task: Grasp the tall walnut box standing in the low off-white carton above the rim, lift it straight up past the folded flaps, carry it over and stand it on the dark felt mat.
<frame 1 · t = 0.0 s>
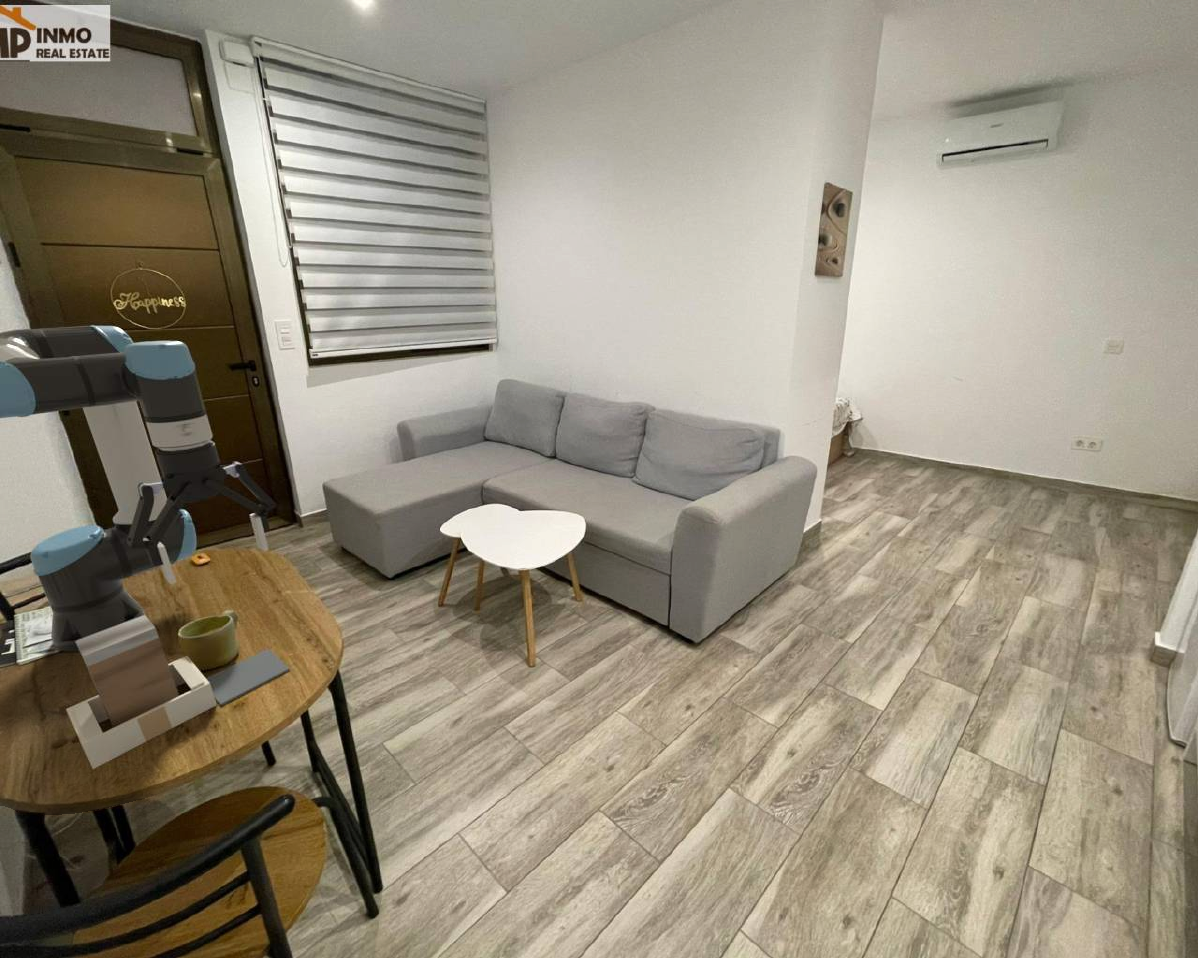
hand: (219, 564, 89), 28 cm above the table, fingers open, 13 cm apart
walnut box: (133, 677, 90), in the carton
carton: (148, 717, 93), on the table
mug: (221, 654, 110), on the table
mat: (246, 675, 103), on the table
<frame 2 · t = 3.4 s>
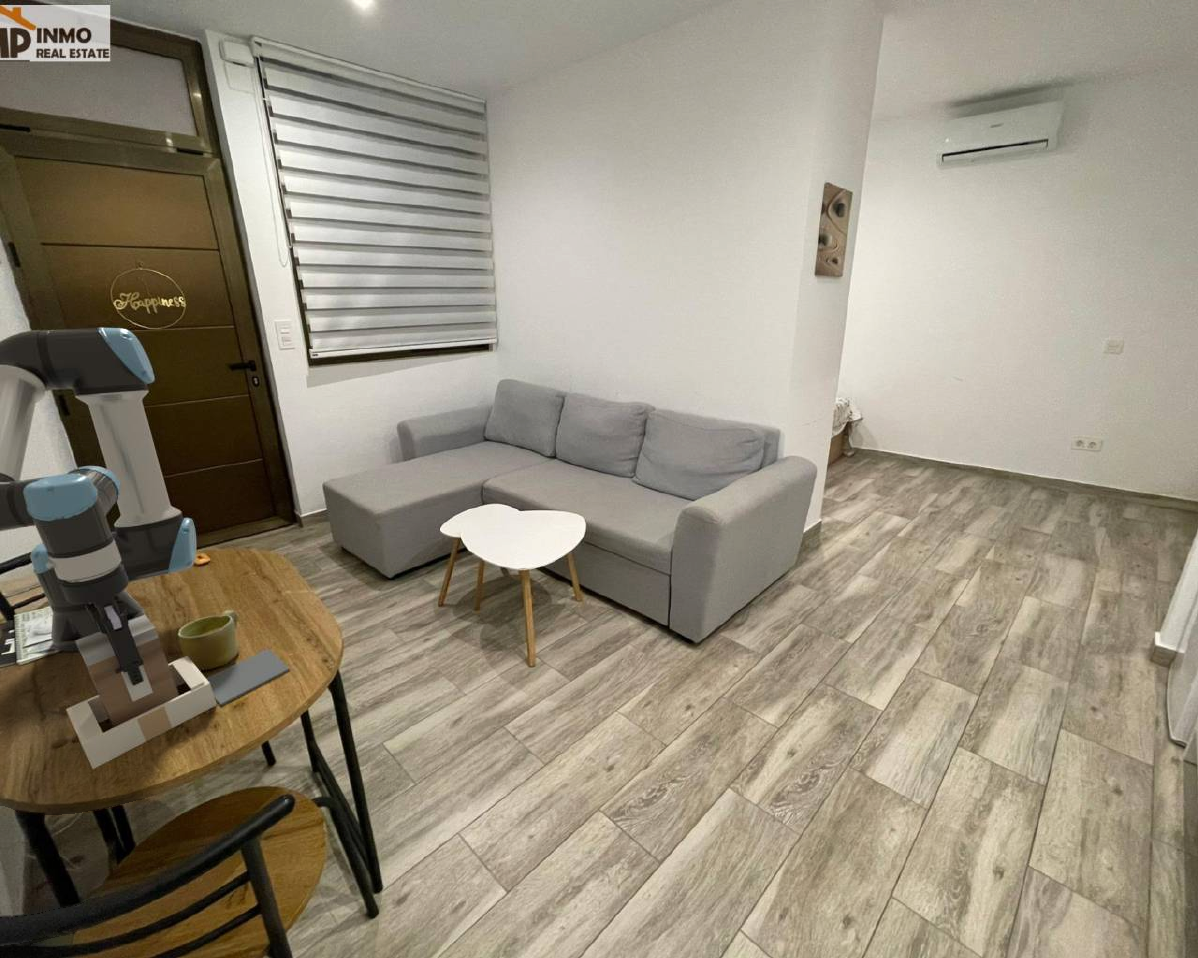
hand: (136, 686, 91), 7 cm above the table, fingers closed on walnut box, 6 cm apart
walnut box: (133, 677, 90), in the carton, touching gripper
everything else where it was.
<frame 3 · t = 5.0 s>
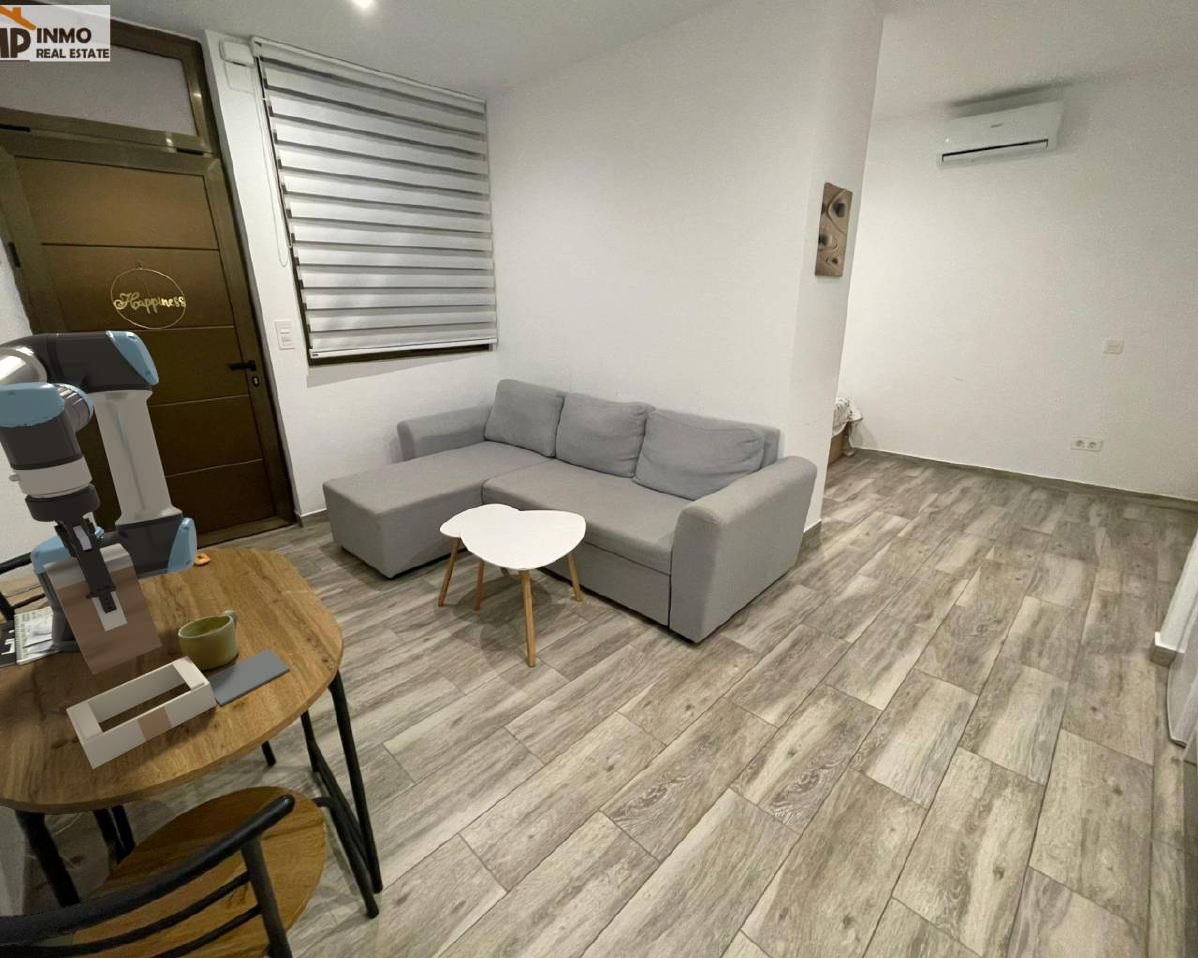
hand: (110, 618, 86), 21 cm above the table, fingers closed on walnut box, 6 cm apart
walnut box: (106, 607, 86), point 23 cm above the table, touching gripper
everything else where it was.
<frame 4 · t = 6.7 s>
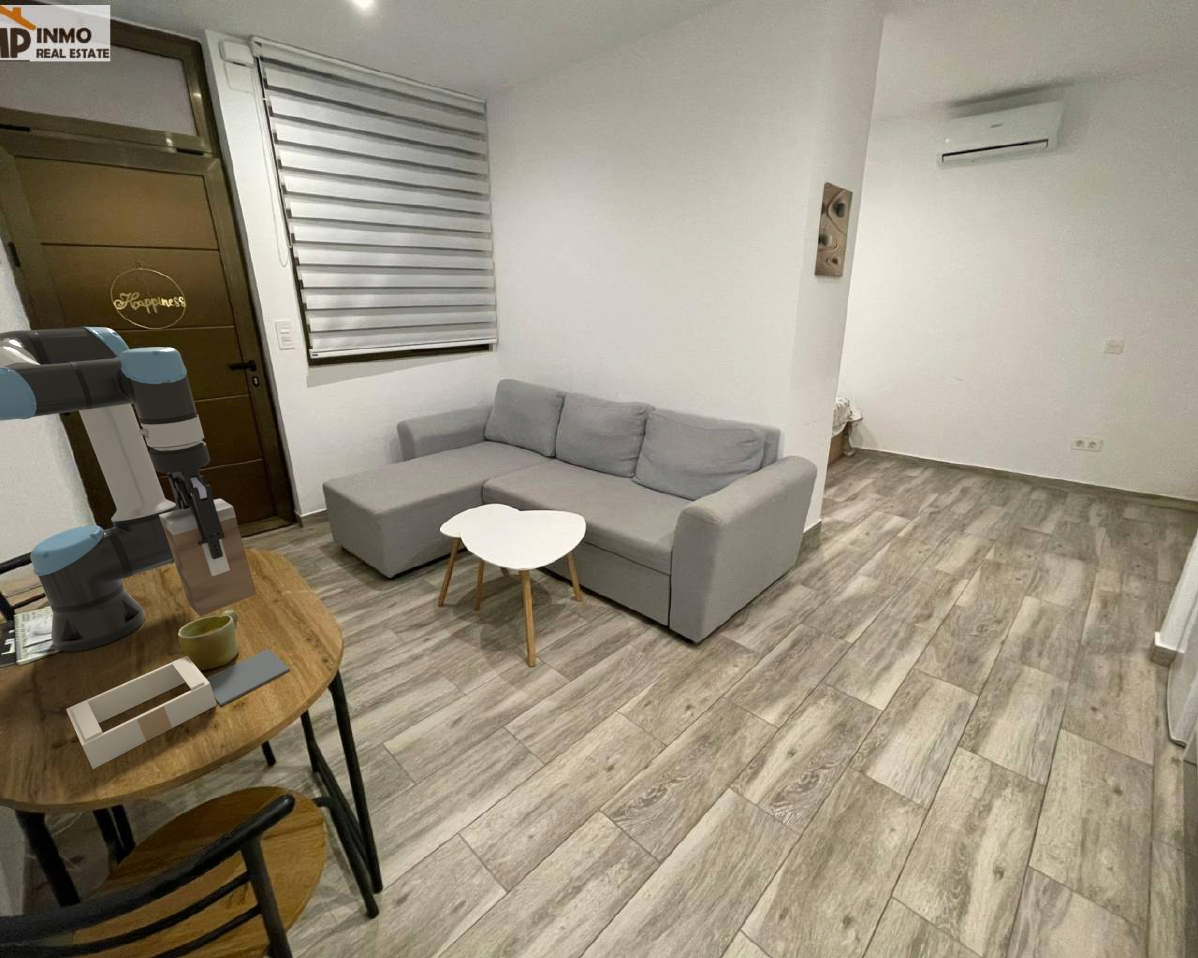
hand: (213, 566, 95), 25 cm above the table, fingers closed on walnut box, 6 cm apart
walnut box: (210, 556, 94), point 27 cm above the table, touching gripper
everything else where it was.
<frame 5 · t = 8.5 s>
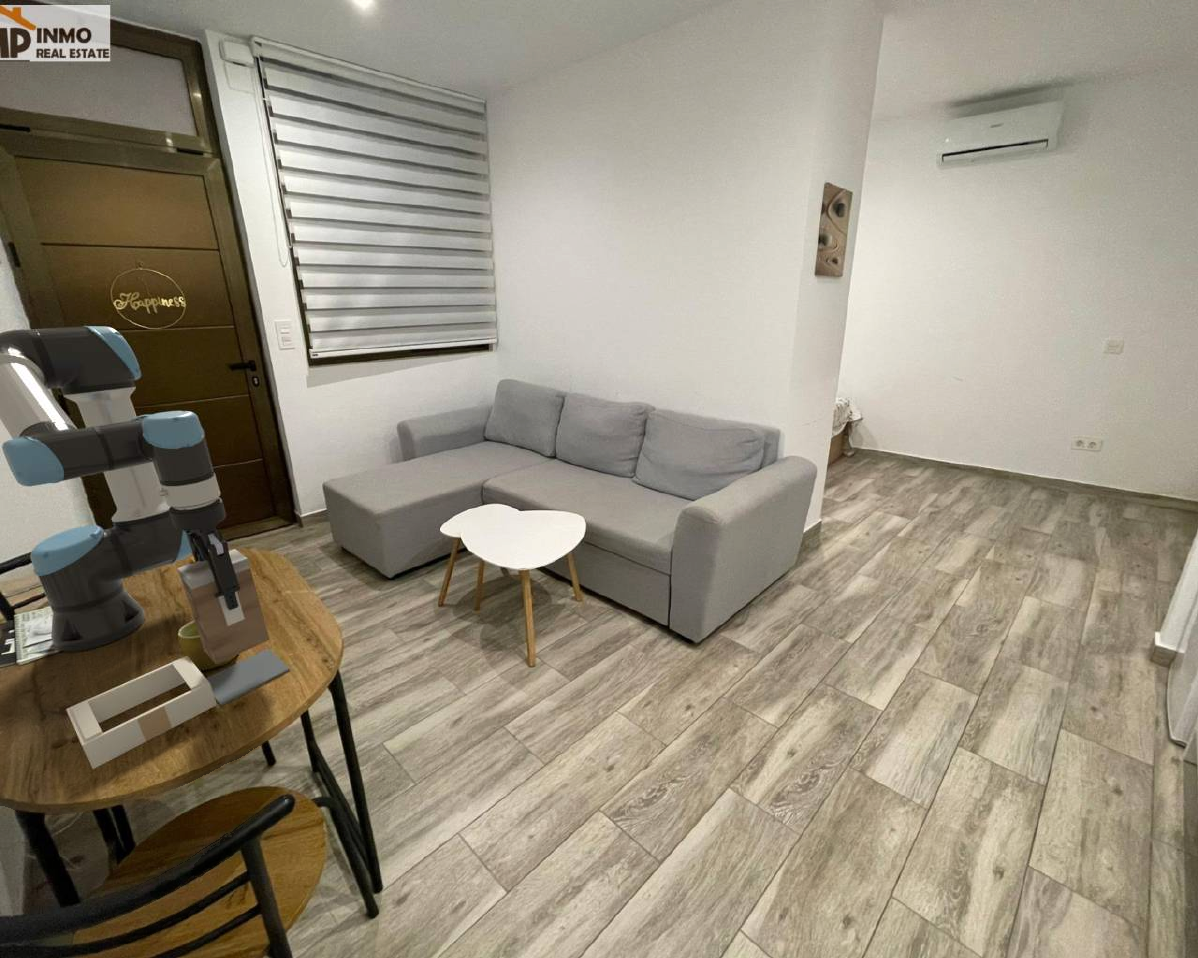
hand: (228, 615, 98), 14 cm above the table, fingers closed on walnut box, 6 cm apart
walnut box: (225, 605, 97), point 16 cm above the table, touching gripper
everything else where it was.
when the fingers open (8 cm above the table, at t = 10.0 s): walnut box stays where it is, resting on mat.
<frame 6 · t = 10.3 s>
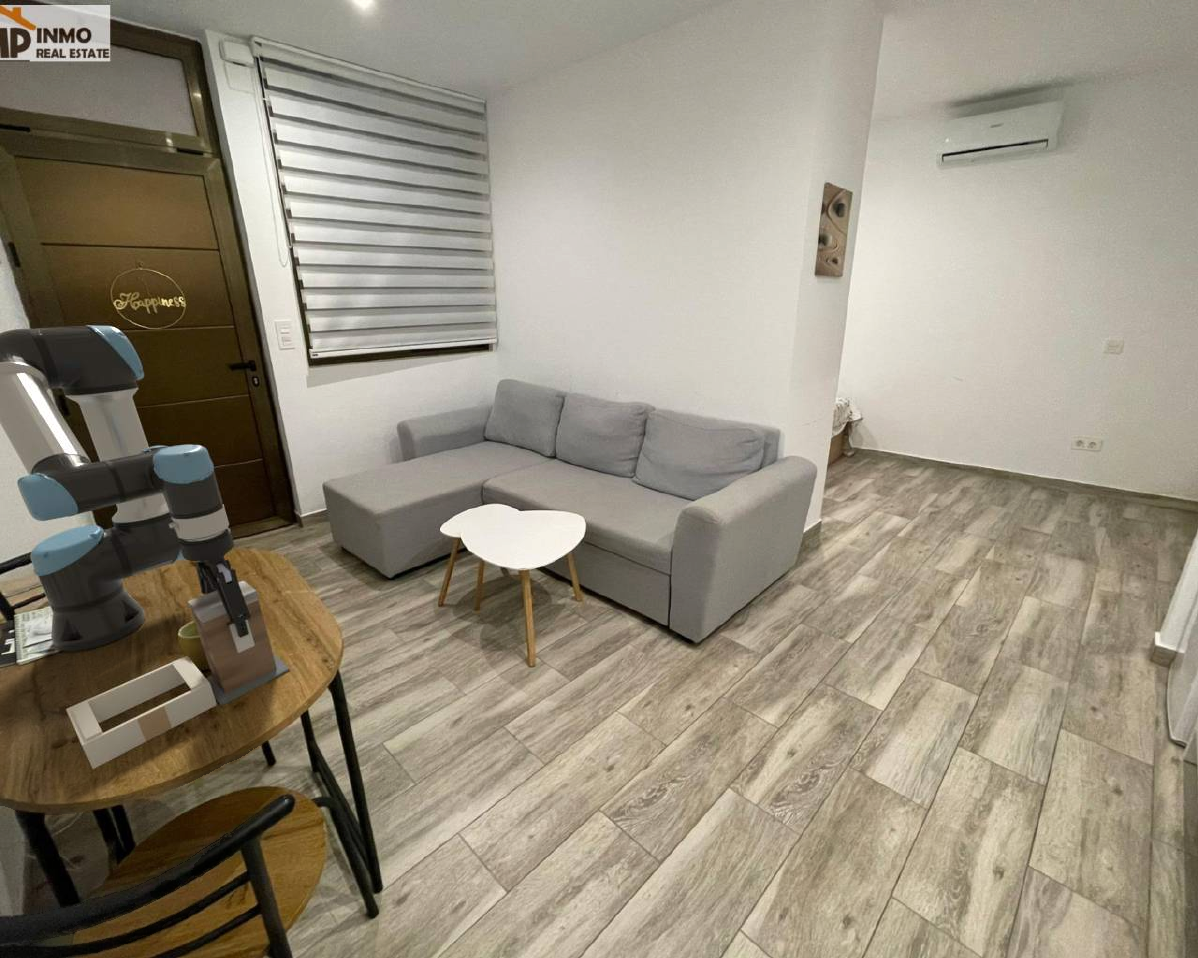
hand: (235, 637, 100), 9 cm above the table, fingers open, 9 cm apart
walnut box: (234, 636, 100), on the mat
everything else where it was.
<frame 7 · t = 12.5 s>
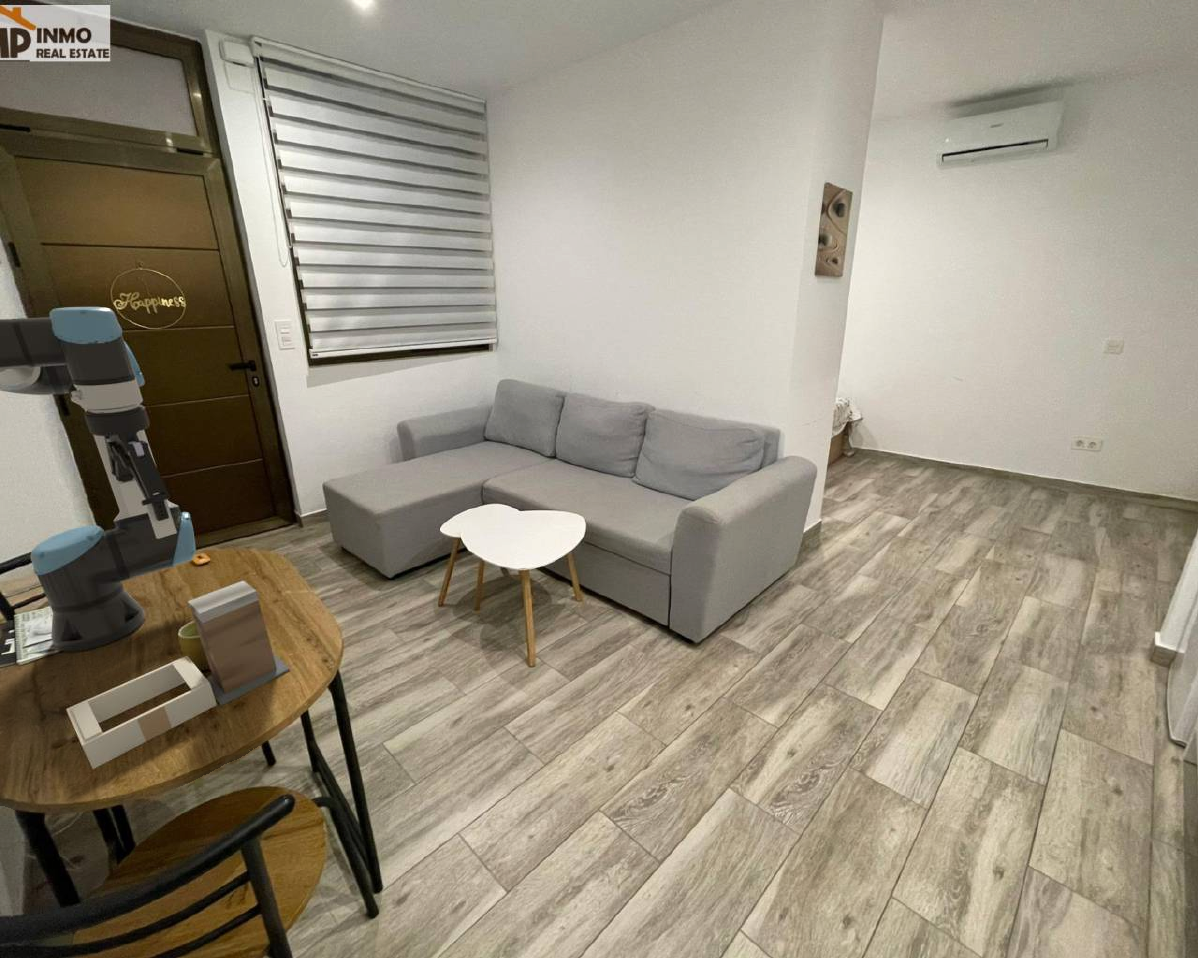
hand: (152, 524, 93), 33 cm above the table, fingers open, 13 cm apart
nothing on the table moved.
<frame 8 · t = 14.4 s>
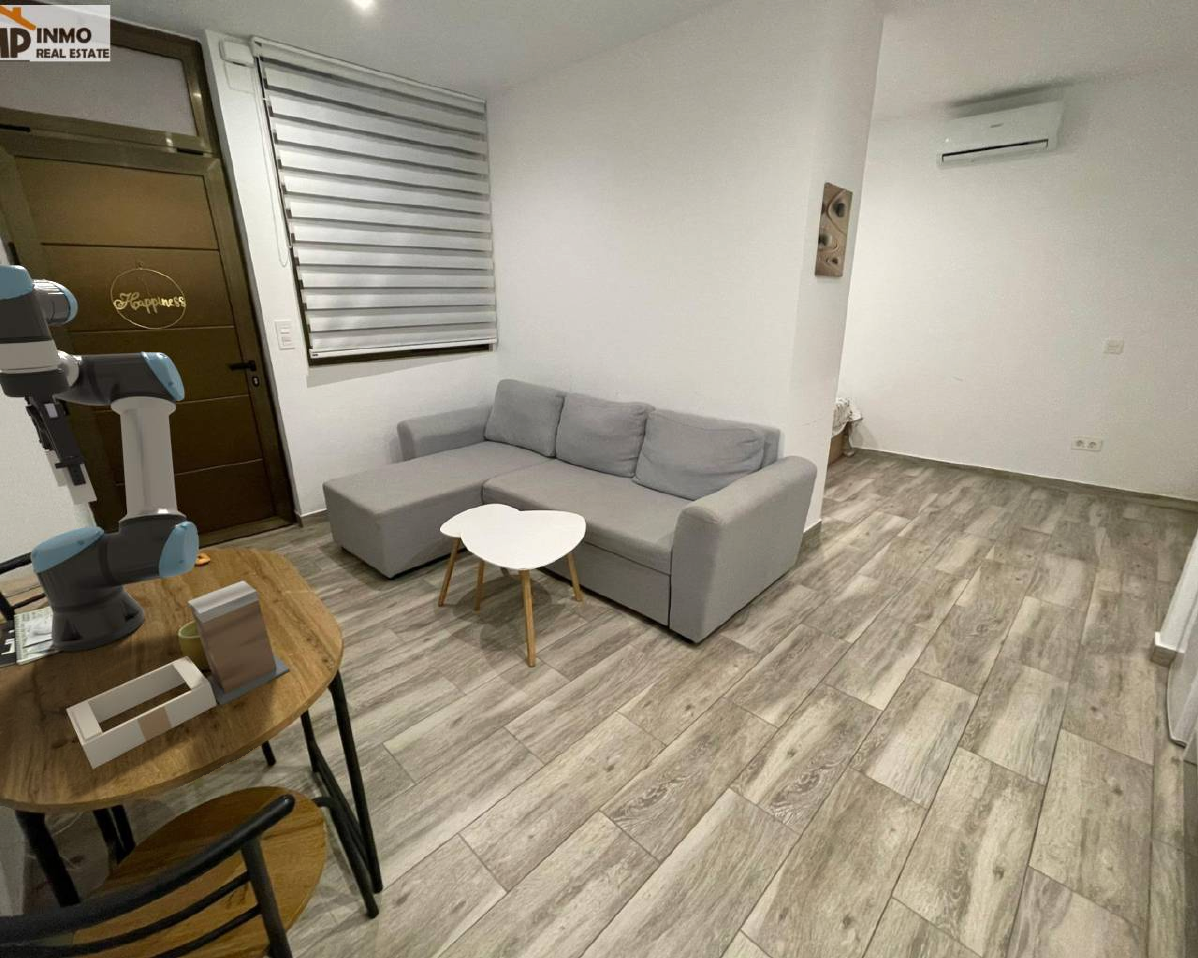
hand: (77, 493, 91), 39 cm above the table, fingers open, 13 cm apart
nothing on the table moved.
at the end: walnut box inside the target area on the mat (0.1 cm from its centre), point 9.4 cm above the mat's base; walnut box tilted 0°; the gripper is holding nothing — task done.
